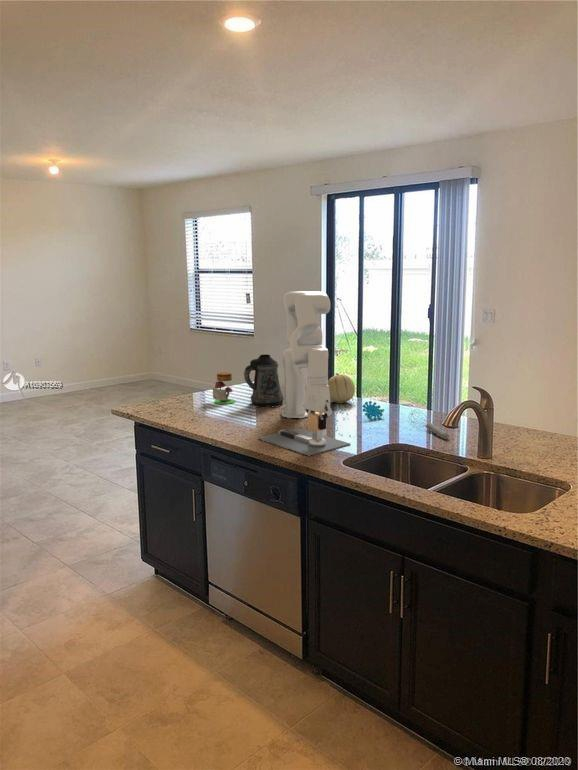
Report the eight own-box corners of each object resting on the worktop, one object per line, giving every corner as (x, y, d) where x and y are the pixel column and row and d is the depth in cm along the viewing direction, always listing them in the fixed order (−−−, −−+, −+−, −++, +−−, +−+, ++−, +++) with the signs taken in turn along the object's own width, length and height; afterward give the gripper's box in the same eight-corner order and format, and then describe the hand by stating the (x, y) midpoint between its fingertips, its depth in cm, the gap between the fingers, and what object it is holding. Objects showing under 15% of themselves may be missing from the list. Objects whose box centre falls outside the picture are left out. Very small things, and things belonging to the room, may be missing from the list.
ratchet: (275, 435, 243) (275, 420, 241) (287, 432, 247) (287, 418, 246) (317, 448, 225) (317, 433, 223) (329, 445, 229) (329, 430, 228)
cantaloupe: (346, 407, 293) (347, 377, 290) (320, 404, 301) (320, 374, 298) (359, 401, 306) (360, 372, 303) (334, 398, 313) (334, 370, 310)
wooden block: (308, 428, 228) (308, 413, 227) (317, 426, 231) (317, 411, 230) (317, 431, 224) (317, 415, 223) (326, 429, 227) (326, 413, 226)
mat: (257, 439, 239) (257, 437, 239) (298, 429, 253) (298, 428, 253) (308, 456, 217) (308, 455, 217) (350, 444, 231) (350, 443, 231)
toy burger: (222, 398, 314) (221, 370, 311) (240, 401, 307) (240, 372, 304) (206, 402, 305) (206, 373, 302) (225, 405, 298) (224, 376, 295)
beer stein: (289, 403, 303) (289, 354, 298) (268, 410, 287) (267, 359, 282) (263, 399, 312) (262, 351, 307) (240, 406, 296) (239, 356, 291)
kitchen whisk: (442, 442, 235) (442, 426, 234) (405, 421, 267) (405, 408, 266) (456, 441, 237) (456, 425, 236) (417, 421, 269) (418, 407, 268)
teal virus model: (366, 418, 266) (361, 399, 271) (360, 425, 270) (355, 406, 276) (388, 419, 270) (382, 400, 275) (382, 426, 274) (377, 407, 280)
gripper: (295, 379, 228) (295, 425, 232) (326, 385, 216) (326, 434, 219) (309, 376, 233) (309, 422, 236) (341, 382, 220) (340, 430, 224)
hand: (317, 427), depth 228 cm, fingers closed on wooden block, 5 cm apart
